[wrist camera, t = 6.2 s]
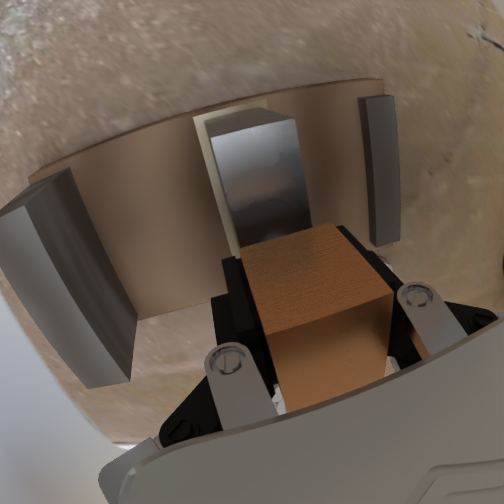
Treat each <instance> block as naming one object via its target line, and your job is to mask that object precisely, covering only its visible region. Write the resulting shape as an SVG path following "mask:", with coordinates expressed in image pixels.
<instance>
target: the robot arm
mask: <svg viewBox="0 0 504 504" xmlns="http://www.w3.org/2000/svg"><path fill="white" fill-rule="evenodd" d="M336 228H337V229H338V230H339V231H340V232H341V233H342V234H343V235H344V236H345V237H346V239H347V240H348V241H349V242H350V243H351V244H352V245H353V246H354V247H355V248H356V249H357V251H358V252H359V253H360V254H361V255H362V256H363V257H364V258H365V259H366V261H367V262H368V263H369V264H370V265H371V266H372V267H373V269H374V270H375V271H376V272H377V273H378V274H379V275H380V276H381V278H382V279H383V280H384V281H385V282H386V283H387V285H388V286H389V287H390V288H391V289H392V290H393V292H394V296H393V308H392V319H391V328H390V337H389V345H388V352H387V356H390V361H391V363H392V365H393V368H394V370H395V372H396V373H393V374H391V375H389V376H387V377H384V378H382V379H380V380H377V381H375V382H372V383H370V384H367V385H365V386H363V387H360V388H357V389H355V390H352V391H350V392H347V393H344V394H342V395H339V396H336V397H334V398H331V399H328V400H325V401H322V402H320V403H317V404H314V405H311V406H308V407H305V408H302V409H298V410H295V411H292V412H289V413H286V414H282V415H279V414H278V412H277V410H276V408H275V406H274V404H273V401H272V398H273V397H274V396H275V394H276V392H275V389H274V386H273V385H275V384H278V381H277V377H276V374H275V370H274V367H273V363H272V360H271V356H270V353H269V349H268V345H267V342H266V338H265V335H264V331H263V328H262V325H261V321H260V318H259V315H258V312H257V308H256V305H255V302H254V299H253V296H252V292H251V289H250V286H249V283H248V280H247V276H246V273H245V270H244V267H243V263H242V259H241V258H238V259H236V257H235V256H231V257H228V258H224V259H221V261H222V266H223V271H224V276H225V281H226V285H227V290H228V293H226V294H223V295H219V296H216V297H212V298H211V306H212V313H213V321H214V328H215V334H216V341H217V347H215V348H214V349H212V350H211V351H210V352H209V353H208V355H207V356H206V359H205V362H204V365H205V371H206V374H207V375H206V376H205V377H204V379H203V380H202V381H201V382H200V383H199V384H198V385H197V386H196V388H195V389H194V390H193V391H192V392H191V393H190V394H189V395H188V397H187V398H186V399H185V400H184V401H183V402H182V403H181V404H180V405H179V407H178V408H177V409H176V410H175V411H174V412H173V413H172V414H171V415H170V416H169V418H168V419H167V420H166V421H165V422H164V423H163V425H162V426H161V429H160V432H159V435H158V436H156V437H155V438H153V439H152V438H151V437H149V438H147V439H146V440H144V441H143V442H141V443H140V444H138V445H137V446H135V447H134V448H132V449H130V450H129V451H127V452H126V453H124V454H123V455H121V456H119V457H118V458H116V459H114V460H113V461H111V462H110V463H108V464H107V465H106V466H104V467H103V468H102V469H101V472H100V473H99V478H98V481H99V485H100V488H101V490H102V492H103V494H104V496H105V497H106V499H107V501H108V503H109V504H504V312H500V313H498V314H497V316H496V315H495V314H494V313H493V312H491V311H489V310H486V309H483V308H478V307H472V306H467V305H462V304H456V303H451V302H446V301H443V300H442V298H441V297H440V296H439V294H438V293H437V292H436V290H435V289H434V288H433V287H432V286H430V285H428V284H426V283H422V282H410V283H407V284H403V283H402V282H401V281H400V279H399V278H398V277H397V276H396V275H395V274H394V273H393V272H392V271H391V270H390V269H389V268H388V267H387V265H386V264H385V263H384V262H383V261H382V260H381V259H380V258H379V257H378V256H377V255H376V254H375V253H374V252H373V251H372V250H367V249H366V248H365V247H364V246H363V245H362V244H361V243H360V242H359V241H358V240H357V239H356V238H355V237H354V236H353V235H352V234H351V233H350V232H349V231H348V230H347V229H346V228H345V227H344V226H343V225H339V226H336Z"/></svg>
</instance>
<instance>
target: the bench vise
mask: <svg viewBox="0 0 504 504" xmlns="http://www.w3.org/2000/svg"><path fill="white" fill-rule="evenodd" d="M256 107H261V108H265V109H268V110H271V111H274V112H277V113H280V114H283V115H286V116H289V117H292V118H294V119H295V124H296V130H297V135H298V140H299V146H300V152H301V157H302V163H303V169H304V175H305V181H306V188H307V194H308V200H309V207H310V214H311V221H312V228H313V227H317V226H320V225H324V224H327V223H331V222H332V224H333V225H334V226H335V227H336V226H339V225H343V226H344V227H345V228H346V229H347V230H348V231H349V232H350V233H351V234H352V235H353V236H354V237H355V238H356V239H357V240H358V241H359V242H360V243H361V244H362V245H363V246H364V247H365V248H366V249H367V250H372V251H373V252H375V251H378V250H381V249H384V248H387V247H390V246H393V242H396V241H399V240H400V167H399V148H398V135H397V123H396V113H395V104H394V96H391V95H385V93H384V86H383V79H371V78H364V79H354V80H344V81H336V82H328V83H321V84H314V85H307V86H301V87H295V88H289V89H284V90H278V91H273V92H268V93H263V94H258V95H254V96H249V97H244V98H240V99H236V100H232V101H227V102H223V103H219V104H216V105H212V106H208V107H204V108H201V109H197V110H193V111H190V112H186V113H183V114H180V115H176V116H173V117H170V118H167V119H164V120H160V121H157V122H154V123H151V124H148V125H145V126H142V127H140V128H137V129H134V130H131V131H128V132H126V133H123V134H120V135H118V136H115V137H112V138H110V139H107V140H105V141H102V142H100V143H97V144H95V145H92V146H90V147H87V148H85V149H83V150H80V151H78V152H76V153H73V154H71V155H69V156H67V157H64V158H62V159H60V160H58V161H56V162H54V163H51V164H49V165H47V166H45V167H43V168H41V169H39V170H38V171H36V172H35V173H34V174H32V175H31V176H29V177H28V180H29V183H30V186H29V187H28V188H26V189H25V190H24V191H22V192H21V193H20V194H19V195H18V196H16V197H15V198H14V199H13V200H11V201H10V202H9V203H8V204H7V205H6V206H4V207H3V208H2V209H1V210H0V267H1V269H2V271H3V273H4V274H5V276H6V278H7V280H8V281H9V283H10V285H11V286H12V288H13V290H14V291H15V293H16V294H17V296H18V298H19V299H20V301H21V302H22V304H23V305H24V307H25V308H26V310H27V311H28V313H29V314H30V316H31V317H32V319H33V320H34V322H35V323H36V324H37V326H38V327H39V329H40V330H41V331H42V333H43V334H44V336H45V337H46V338H47V340H48V341H49V342H50V344H51V345H52V346H53V348H54V349H55V350H56V351H57V353H58V354H59V355H60V357H61V358H62V359H63V360H64V362H65V363H66V364H67V365H68V367H69V368H70V369H71V370H72V371H73V373H74V374H75V375H76V376H77V377H78V378H79V380H80V381H81V382H82V383H83V384H84V385H85V386H86V388H87V389H91V388H97V387H103V386H109V385H115V384H120V383H126V382H130V378H131V368H132V359H133V350H134V341H135V333H136V326H137V321H138V320H142V319H146V318H150V317H154V316H157V315H161V314H165V313H169V312H173V311H176V310H180V309H184V308H187V307H191V306H195V305H198V304H202V303H206V302H209V301H211V298H212V297H216V296H219V295H223V294H226V293H228V290H227V285H226V281H225V276H224V271H223V266H222V261H221V259H224V258H228V257H231V256H235V257H236V259H238V258H241V257H240V253H239V249H238V246H237V242H236V239H235V235H234V231H233V228H232V224H231V221H230V217H229V213H228V210H227V206H226V202H225V199H224V195H223V192H222V188H221V184H220V181H219V177H218V173H217V170H216V166H215V162H214V158H213V155H212V151H211V147H210V144H209V140H208V136H207V132H206V129H205V125H204V120H208V119H212V118H215V117H219V116H223V115H227V114H231V113H235V112H239V111H243V110H248V109H252V108H256Z"/></svg>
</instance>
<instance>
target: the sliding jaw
mask: <svg viewBox="0 0 504 504" xmlns="http://www.w3.org/2000/svg"><path fill="white" fill-rule="evenodd" d="M204 125H205V129H206V132H207V136H208V140H209V144H210V147H211V151H212V155H213V158H214V162H215V166H216V170H217V173H218V177H219V181H220V184H221V188H222V192H223V195H224V199H225V202H226V206H227V210H228V213H229V217H230V221H231V224H232V228H233V231H234V235H235V239H236V242H237V246H238V249H239V253H240V257H241V259H242V263H243V267H244V270H245V273H246V276H247V280H248V283H249V286H250V289H251V292H252V296H253V299H254V302H255V305H256V308H257V312H258V315H259V318H260V321H261V325H262V328H263V331H264V335H265V338H266V342H267V345H268V349H269V353H270V356H271V360H272V363H273V367H274V370H275V374H276V377H277V381H278V385H279V388H280V392H281V395H282V398H283V401H284V404H285V407H286V411H287V413H289V412H292V411H295V410H298V409H302V408H305V407H308V406H311V405H314V404H317V403H320V402H322V401H325V400H328V399H331V398H334V397H336V396H339V395H342V394H344V393H347V392H350V391H352V390H355V389H357V388H360V387H363V386H365V385H367V384H370V383H372V382H375V381H377V380H380V379H382V378H384V373H385V366H386V359H387V352H388V345H389V337H390V328H391V319H392V308H393V296H394V292H393V290H392V289H391V288H390V287H389V286H388V285H387V283H386V282H385V281H384V280H383V279H382V278H381V276H380V275H379V274H378V273H377V272H376V271H375V270H374V269H373V267H372V266H371V265H370V264H369V263H368V262H367V261H366V259H365V258H364V257H363V256H362V255H361V254H360V253H359V252H358V251H357V249H356V248H355V247H354V246H353V245H352V244H351V243H350V242H349V241H348V240H347V239H346V237H345V236H344V235H343V234H342V233H341V232H340V231H339V230H338V229H337V228H336V227H335V226H334V225H333V224H332V222H331V223H327V224H324V225H320V226H317V227H313V228H312V221H311V214H310V207H309V200H308V194H307V188H306V181H305V175H304V169H303V163H302V157H301V152H300V146H299V140H298V135H297V130H296V124H295V119H294V118H292V117H289V116H286V115H283V114H280V113H277V112H274V111H271V110H268V109H265V108H261V107H256V108H252V109H248V110H243V111H239V112H235V113H231V114H227V115H223V116H219V117H215V118H212V119H208V120H204Z"/></svg>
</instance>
